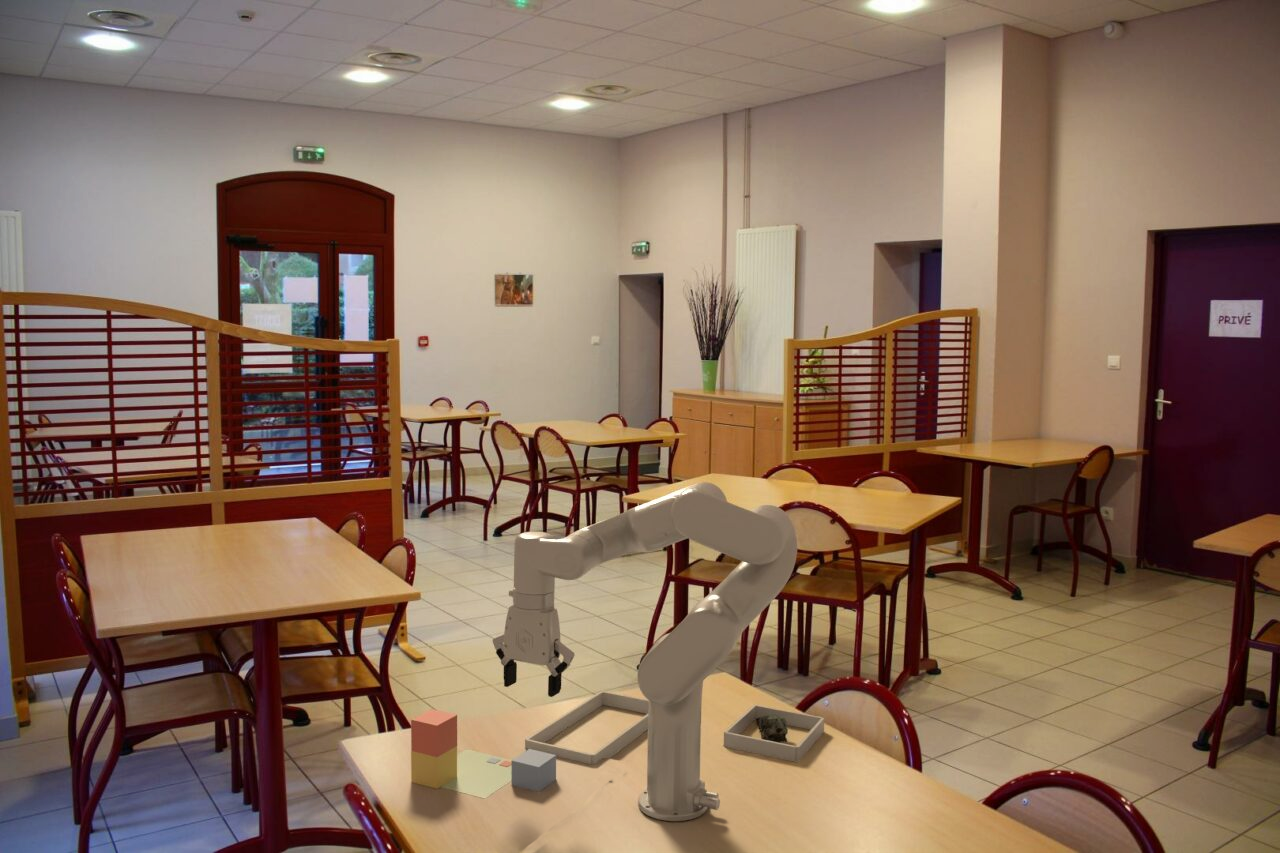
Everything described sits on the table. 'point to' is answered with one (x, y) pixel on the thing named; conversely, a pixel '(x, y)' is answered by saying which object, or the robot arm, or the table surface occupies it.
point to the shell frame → (770, 747)
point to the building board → (480, 774)
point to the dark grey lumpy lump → (773, 728)
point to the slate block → (533, 770)
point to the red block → (434, 733)
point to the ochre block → (433, 768)
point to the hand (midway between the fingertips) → (531, 689)
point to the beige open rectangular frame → (581, 711)
